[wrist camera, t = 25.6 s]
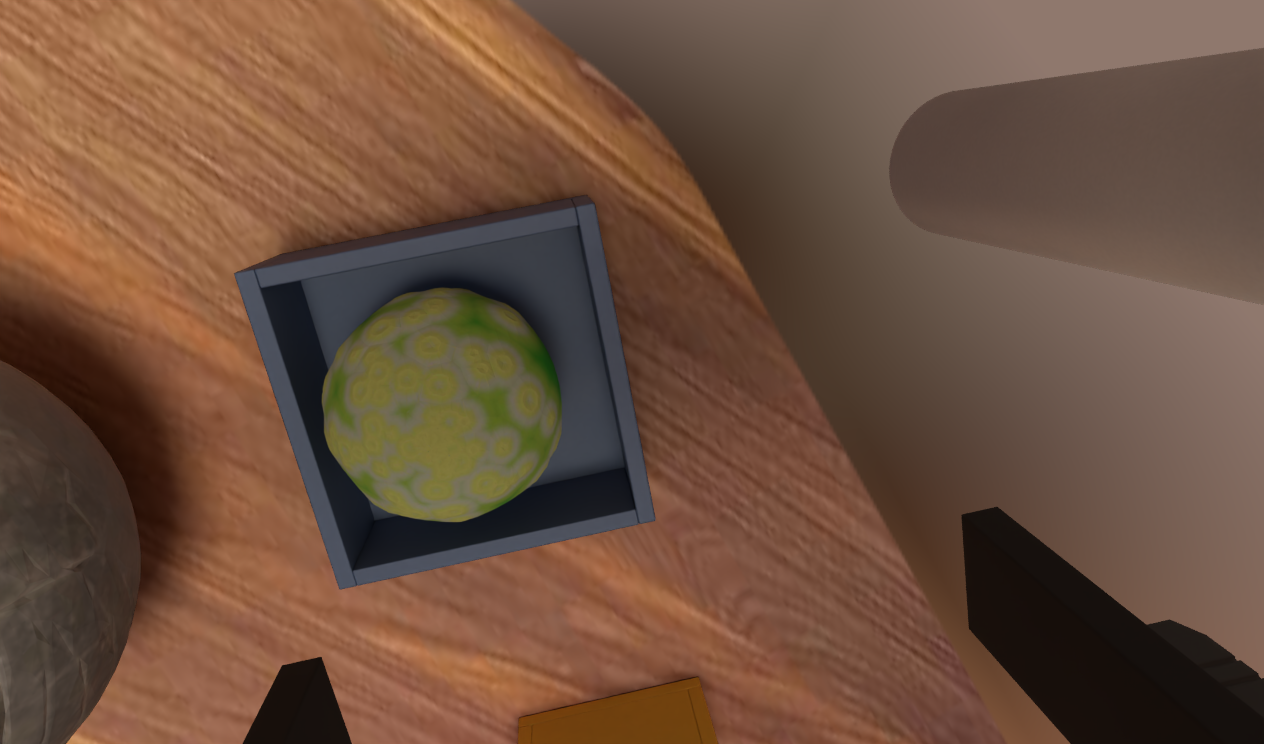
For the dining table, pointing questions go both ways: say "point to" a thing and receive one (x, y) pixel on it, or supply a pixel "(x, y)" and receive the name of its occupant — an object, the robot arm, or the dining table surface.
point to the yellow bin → (627, 719)
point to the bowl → (58, 565)
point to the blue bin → (497, 269)
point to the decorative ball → (442, 405)
